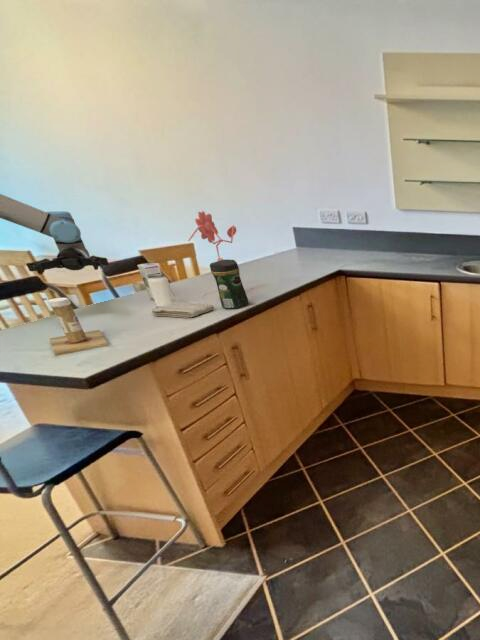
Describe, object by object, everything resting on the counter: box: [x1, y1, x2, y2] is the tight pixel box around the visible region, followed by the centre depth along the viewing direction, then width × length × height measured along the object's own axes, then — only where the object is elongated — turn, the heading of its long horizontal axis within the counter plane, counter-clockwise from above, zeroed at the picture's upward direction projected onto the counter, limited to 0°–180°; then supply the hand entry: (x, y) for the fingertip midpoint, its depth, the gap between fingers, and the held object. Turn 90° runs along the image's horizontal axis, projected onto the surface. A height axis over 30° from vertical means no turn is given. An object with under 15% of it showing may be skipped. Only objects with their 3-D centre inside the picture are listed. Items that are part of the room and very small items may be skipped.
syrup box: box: [137, 262, 163, 300], centre depth 177 cm, size 6×6×14 cm
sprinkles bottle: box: [47, 297, 87, 343], centre depth 129 cm, size 5×5×13 cm
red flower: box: [187, 210, 254, 301], centre depth 179 cm, size 15×26×35 cm, turn 2°
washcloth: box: [150, 301, 215, 319], centre depth 161 cm, size 12×18×3 cm, turn 84°
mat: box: [49, 329, 109, 357], centre depth 132 cm, size 18×12×1 cm, turn 48°
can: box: [147, 274, 177, 307], centre depth 168 cm, size 6×6×12 cm
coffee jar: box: [209, 259, 250, 310], centre depth 167 cm, size 10×8×19 cm
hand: (67, 267), depth 140 cm, fingers open, 13 cm apart
